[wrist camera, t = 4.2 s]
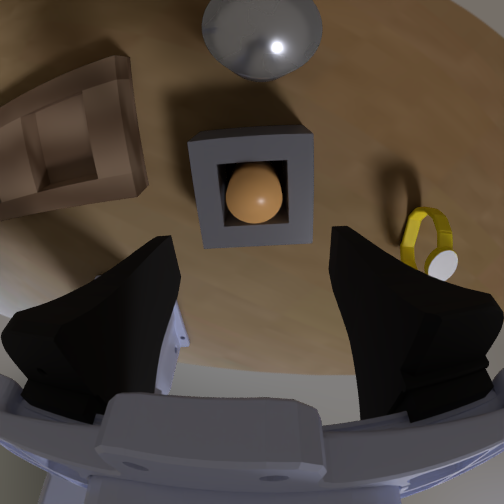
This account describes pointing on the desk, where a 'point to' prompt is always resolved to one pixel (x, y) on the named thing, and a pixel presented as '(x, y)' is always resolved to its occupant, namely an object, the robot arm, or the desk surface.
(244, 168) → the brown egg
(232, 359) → the desk surface
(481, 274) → the desk surface
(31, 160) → the frame
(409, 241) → the watch
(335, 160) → the desk surface
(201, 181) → the button housing
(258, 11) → the steel billet
